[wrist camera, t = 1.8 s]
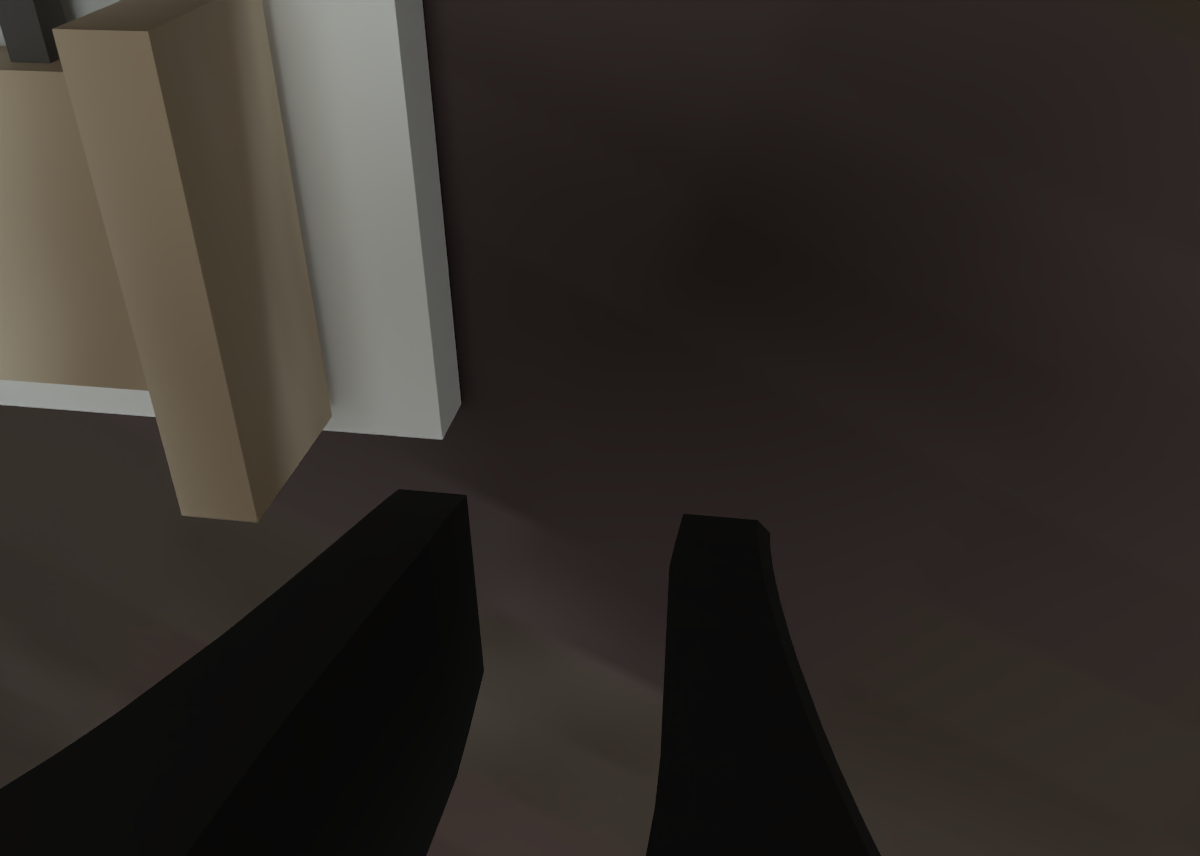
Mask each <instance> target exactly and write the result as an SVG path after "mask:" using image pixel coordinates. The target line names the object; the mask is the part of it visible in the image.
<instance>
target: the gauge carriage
mask: <svg viewBox="0 0 1200 856" xmlns="http://www.w3.org/2000/svg"><path fill="white" fill-rule="evenodd" d="M0 26H1V29H2V33H3V36H4V40H5V43H6V47H0V380H11V381H25V382H38V383H51V384H64V385H78V386H91V387H104V388H117V389H131V390H144V391H149V394H150V398H151V402H152V405H153V409H154V413H155V417H156V420H157V424H158V428H159V431H160V435H161V439H162V443H163V446H164V450H165V454H166V458H167V461H168V465H169V469H170V473H171V476H172V480H173V484H174V488H175V491H176V495H177V499H178V503H179V506H180V510H181V514H182V516H192V517H203V518H213V519H224V520H235V521H246V522H256V523H258V522H259V520H260V519H261V517H262V516H263V515H264V513H265V512H266V510H267V509H268V507H269V506H270V505H271V503H272V502H273V500H274V499H275V497H276V496H277V495H278V493H279V492H280V490H281V489H282V487H283V486H284V485H285V483H286V482H287V480H288V479H289V477H290V476H291V474H292V473H293V472H294V470H295V469H296V467H297V466H298V464H299V463H300V462H301V460H302V459H303V457H304V456H305V454H306V453H307V452H308V450H309V449H310V447H311V446H312V444H313V443H314V442H315V440H316V439H317V437H318V436H319V434H320V433H321V432H322V430H323V429H324V427H325V426H326V424H327V423H328V421H329V420H330V419H331V417H332V413H331V407H330V401H329V395H328V389H327V383H326V377H325V372H324V366H323V360H322V354H321V348H320V342H319V336H318V330H317V324H316V318H315V312H314V307H313V301H312V295H311V289H310V283H309V277H308V271H307V265H306V259H305V253H304V247H303V242H302V236H301V230H300V224H299V218H298V212H297V206H296V200H295V194H294V188H293V182H292V177H291V171H290V165H289V159H288V153H287V147H286V141H285V135H284V129H283V123H282V117H281V112H280V106H279V100H278V94H277V88H276V82H275V76H274V70H273V64H272V58H271V52H270V47H269V41H268V35H267V29H266V23H265V17H264V11H263V5H262V0H121V1H118V2H116V3H113V4H111V5H109V6H106V7H104V8H101V9H99V10H97V11H94V12H92V13H89V14H87V15H84V16H82V17H80V18H77V19H75V20H72V21H70V22H68V23H66V19H65V15H64V11H63V7H62V4H61V0H0Z"/></svg>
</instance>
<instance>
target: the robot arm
mask: <svg viewBox="0 0 1200 856" xmlns="http://www.w3.org/2000/svg"><path fill="white" fill-rule="evenodd" d="M483 672H484V667H483V657H482V646H481V636H480V626H479V616H478V606H477V596H476V586H475V576H474V565H473V555H472V545H471V535H470V525H469V515H468V505H467V495H459V494H448V493H436V492H425V491H413V490H402V489H398V490H397V491H396V492H395V493H393V494H392V495H391V496H390V497H388V498H387V499H386V500H385V501H383V502H382V503H381V504H380V505H379V506H377V507H376V508H375V509H374V510H373V511H371V512H370V513H369V514H368V515H367V516H365V517H364V518H363V519H362V520H361V521H359V522H358V523H357V524H356V525H355V526H353V527H352V528H351V529H350V530H349V531H347V532H346V533H345V534H344V535H343V536H342V537H340V538H339V539H338V540H337V541H336V542H334V543H333V544H332V545H331V546H330V547H329V548H327V549H326V550H325V551H324V552H323V553H321V554H320V555H319V556H318V557H317V558H315V559H314V560H313V561H312V562H311V563H310V564H308V565H307V566H306V567H305V568H304V569H302V570H301V571H300V572H299V573H298V574H296V575H295V576H294V577H293V578H292V579H290V580H289V581H288V582H287V583H286V584H284V585H283V586H282V587H281V588H280V589H278V590H277V591H276V592H275V593H273V594H272V595H271V596H270V597H268V598H267V599H266V600H265V601H264V602H262V603H261V604H260V605H259V606H257V607H256V608H255V609H254V610H252V611H251V612H250V613H249V614H247V615H246V616H245V617H244V618H243V619H241V620H240V621H239V622H238V623H236V624H235V625H234V626H233V627H231V628H230V629H229V630H228V631H226V632H225V633H224V634H223V635H222V636H220V637H219V638H218V639H216V640H215V641H214V642H212V643H211V644H210V645H208V646H207V647H205V648H204V649H203V650H201V651H200V652H199V653H197V654H196V655H195V656H193V657H192V658H191V659H189V660H188V661H187V662H185V663H184V664H183V665H181V666H180V667H178V668H177V669H176V670H174V671H173V672H172V673H170V674H169V675H168V676H166V677H165V678H164V679H162V680H161V681H160V682H158V683H157V684H156V685H154V686H153V687H151V688H150V689H149V690H147V691H146V692H145V693H143V694H142V695H141V696H139V697H138V698H137V699H135V700H134V701H133V702H131V703H130V704H129V705H127V706H126V707H124V708H123V709H122V710H120V711H119V712H118V713H116V714H115V715H113V716H112V717H110V718H109V719H107V720H106V721H105V722H103V723H102V724H100V725H99V726H97V727H96V728H94V729H93V730H92V731H90V732H89V733H87V734H86V735H84V736H83V737H81V738H79V739H78V740H76V741H75V742H73V743H72V744H70V745H69V746H67V747H66V748H64V749H63V750H61V751H60V752H58V753H57V754H55V755H54V756H52V757H51V758H49V759H47V760H46V761H44V762H43V763H41V764H40V765H38V766H36V767H35V768H33V769H32V770H30V771H28V772H27V773H25V774H24V775H22V776H20V777H19V778H17V779H16V780H14V781H12V782H11V783H9V784H8V785H6V786H4V787H3V788H1V789H0V856H426V855H427V852H428V850H429V847H430V844H431V842H432V839H433V837H434V834H435V832H436V829H437V826H438V824H439V821H440V819H441V816H442V814H443V811H444V808H445V806H446V803H447V801H448V798H449V795H450V793H451V790H452V787H453V785H454V782H455V780H456V777H457V774H458V770H459V766H460V763H461V759H462V755H463V751H464V748H465V744H466V740H467V736H468V733H469V729H470V725H471V721H472V717H473V713H474V709H475V705H476V701H477V697H478V693H479V689H480V685H481V681H482V676H483ZM646 856H881V855H880V853H879V851H878V849H877V847H876V845H875V843H874V841H873V839H872V837H871V835H870V833H869V831H868V829H867V827H866V825H865V823H864V820H863V818H862V816H861V814H860V812H859V810H858V807H857V805H856V803H855V801H854V799H853V796H852V794H851V792H850V790H849V788H848V785H847V783H846V781H845V779H844V777H843V774H842V772H841V770H840V768H839V766H838V763H837V761H836V759H835V756H834V754H833V751H832V749H831V747H830V744H829V742H828V739H827V737H826V734H825V732H824V730H823V727H822V725H821V722H820V719H819V717H818V714H817V711H816V709H815V706H814V703H813V700H812V698H811V695H810V692H809V690H808V687H807V684H806V682H805V679H804V676H803V674H802V671H801V668H800V665H799V663H798V660H797V657H796V653H795V650H794V647H793V644H792V641H791V638H790V635H789V631H788V628H787V624H786V621H785V617H784V613H783V610H782V606H781V603H780V599H779V594H778V590H777V586H776V581H775V576H774V571H773V565H772V558H771V550H770V533H769V532H768V531H767V530H766V529H765V528H764V527H763V525H762V524H761V523H760V522H759V521H758V520H748V519H737V518H725V517H714V516H702V515H690V514H683V517H682V521H681V524H680V528H679V531H678V535H677V538H676V542H675V546H674V550H673V554H672V559H671V563H670V569H669V589H668V610H667V631H666V652H665V673H664V694H663V715H662V736H661V757H660V766H659V775H658V785H657V794H656V803H655V810H654V816H653V821H652V826H651V832H650V837H649V842H648V848H647V853H646Z"/></svg>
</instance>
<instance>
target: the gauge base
mask: <svg viewBox="0 0 1200 856" xmlns="http://www.w3.org/2000/svg"><path fill="white" fill-rule="evenodd" d="M118 1H121V0H61V4H62V7H63V11H64V15H65V19H66V23H68V22H70V21H72V20H75V19H77V18H80V17H82V16H84V15H87V14H89V13H92V12H94V11H97V10H99V9H101V8H104V7H106V6H109V5H111V4H113V3H116V2H118ZM262 5H263V11H264V17H265V23H266V29H267V35H268V41H269V47H270V52H271V58H272V64H273V70H274V76H275V82H276V88H277V94H278V100H279V106H280V112H281V117H282V123H283V129H284V135H285V141H286V147H287V153H288V159H289V165H290V171H291V177H292V182H293V188H294V194H295V200H296V206H297V212H298V218H299V224H300V230H301V236H302V242H303V247H304V253H305V259H306V265H307V271H308V277H309V283H310V289H311V295H312V301H313V307H314V312H315V318H316V324H317V330H318V336H319V342H320V348H321V354H322V360H323V366H324V372H325V377H326V383H327V389H328V395H329V401H330V407H331V413H332V417H331V419H330V420H329V421H328V423H327V424H326V426H325V427H324V429H323V430H326V431H338V432H351V433H364V434H376V435H389V436H402V437H414V438H427V439H439V440H443V438H444V436H445V434H446V432H447V430H448V428H449V426H450V424H451V423H452V421H453V419H454V417H455V415H456V413H457V411H458V409H459V407H460V405H461V395H460V385H459V375H458V364H457V354H456V344H455V333H454V323H453V313H452V302H451V292H450V282H449V271H448V261H447V251H446V240H445V230H444V220H443V209H442V199H441V189H440V178H439V168H438V158H437V147H436V137H435V127H434V116H433V106H432V96H431V85H430V75H429V65H428V54H427V44H426V34H425V23H424V13H423V3H422V0H262ZM0 47H6V43H5V40H4V36H3V33H2V29H1V26H0ZM0 405H10V406H23V407H35V408H48V409H60V410H73V411H86V412H98V413H111V414H124V415H136V416H149V417H155V413H154V409H153V405H152V402H151V398H150V394H149V391H144V390H131V389H117V388H104V387H91V386H78V385H64V384H51V383H38V382H25V381H11V380H0Z"/></svg>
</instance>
